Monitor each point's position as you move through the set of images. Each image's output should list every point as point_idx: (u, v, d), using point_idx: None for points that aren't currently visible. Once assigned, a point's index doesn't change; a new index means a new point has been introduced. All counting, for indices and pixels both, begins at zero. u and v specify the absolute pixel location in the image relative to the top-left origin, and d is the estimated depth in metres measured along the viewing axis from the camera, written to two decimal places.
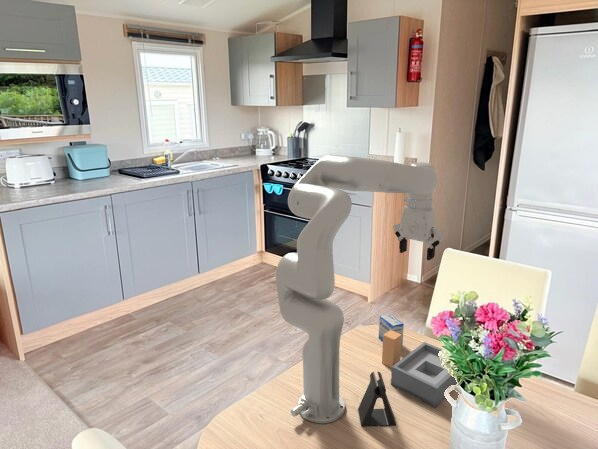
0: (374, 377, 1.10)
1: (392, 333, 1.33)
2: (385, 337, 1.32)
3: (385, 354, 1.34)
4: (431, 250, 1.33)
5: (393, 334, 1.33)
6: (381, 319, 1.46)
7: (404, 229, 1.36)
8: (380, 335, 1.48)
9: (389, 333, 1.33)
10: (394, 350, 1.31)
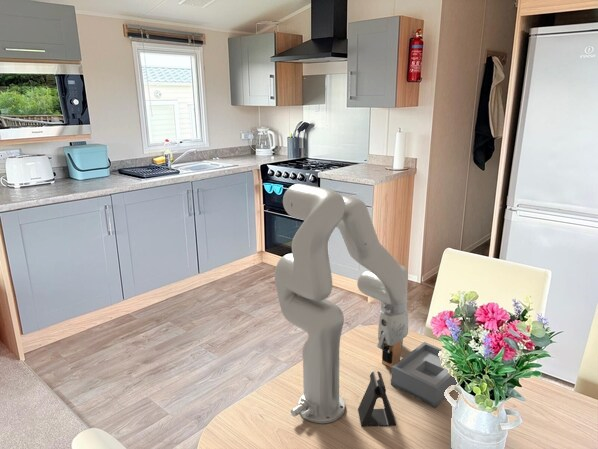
0: (374, 377, 1.10)
1: None
2: None
3: None
4: None
5: None
6: None
7: (394, 337, 1.28)
8: None
9: None
10: (393, 350, 1.31)
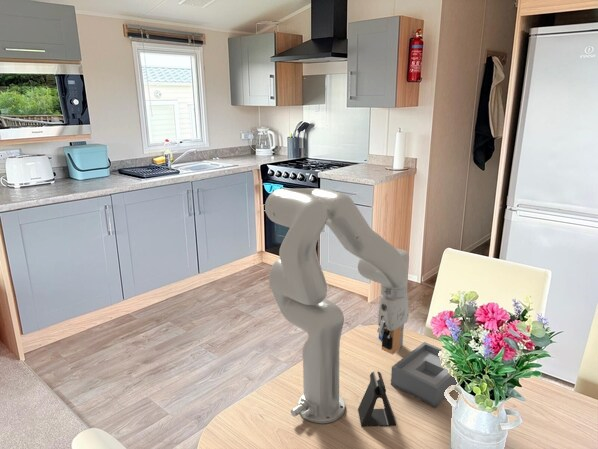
0: (374, 377, 1.10)
1: None
2: None
3: None
4: None
5: None
6: None
7: (394, 322, 1.27)
8: (380, 335, 1.48)
9: None
10: (394, 336, 1.29)
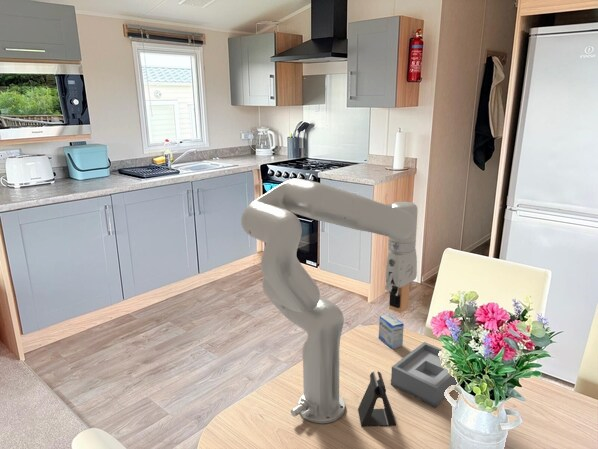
0: (374, 377, 1.10)
1: None
2: None
3: None
4: None
5: None
6: (381, 319, 1.46)
7: (403, 278, 1.21)
8: (380, 335, 1.48)
9: None
10: (402, 293, 1.24)
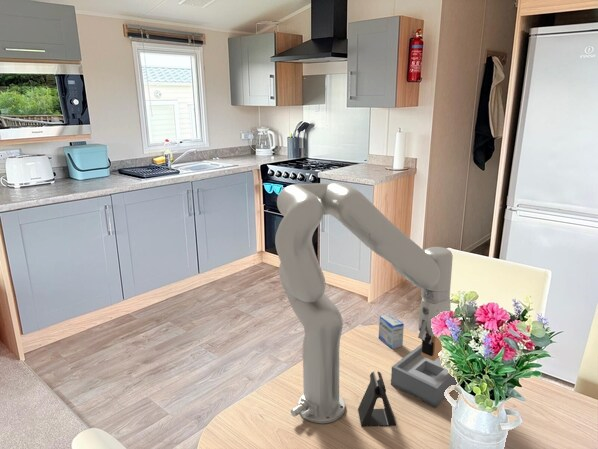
0: (374, 377, 1.10)
1: None
2: None
3: None
4: None
5: None
6: (381, 319, 1.46)
7: None
8: (380, 335, 1.48)
9: None
10: (435, 341, 1.20)
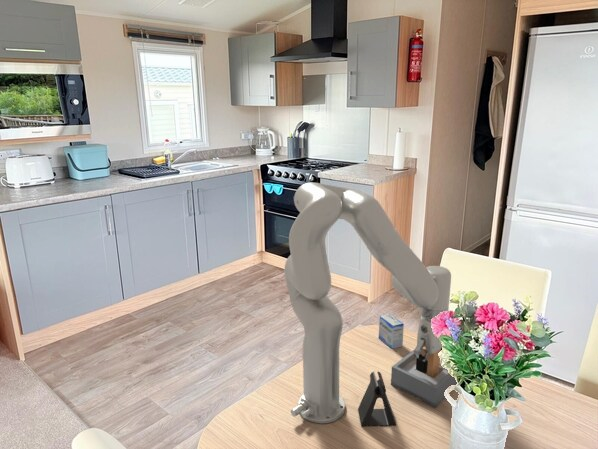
0: (374, 377, 1.10)
1: None
2: (423, 351, 1.23)
3: None
4: None
5: None
6: (381, 319, 1.46)
7: (435, 345, 1.18)
8: (380, 335, 1.48)
9: None
10: (433, 365, 1.22)
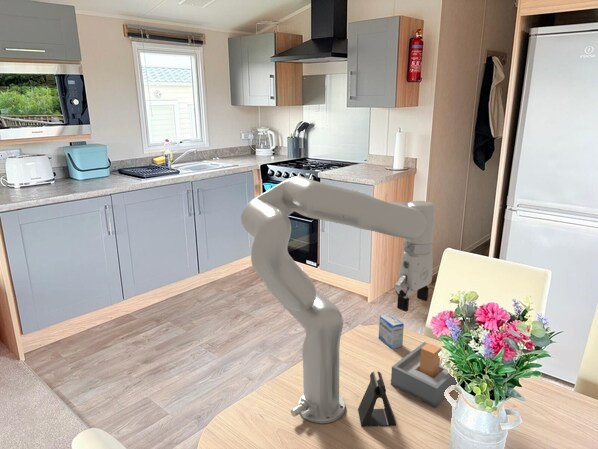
0: (374, 377, 1.10)
1: (430, 346, 1.24)
2: (423, 351, 1.23)
3: (423, 369, 1.24)
4: None
5: (432, 347, 1.23)
6: (381, 319, 1.46)
7: (417, 281, 1.15)
8: (380, 335, 1.48)
9: (427, 346, 1.24)
10: (433, 365, 1.22)
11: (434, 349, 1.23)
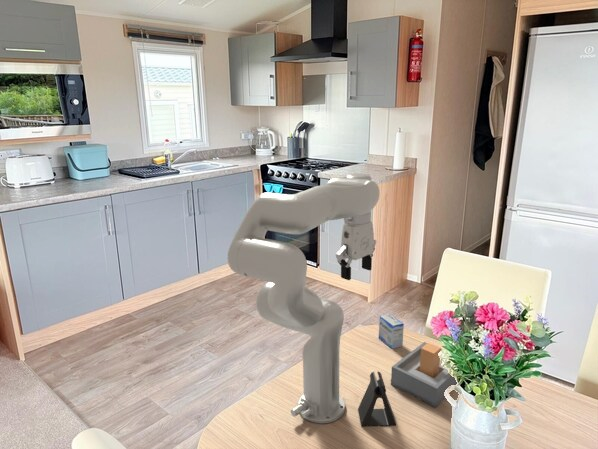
0: (374, 377, 1.10)
1: (430, 346, 1.24)
2: (423, 351, 1.23)
3: (423, 369, 1.24)
4: None
5: (432, 347, 1.23)
6: (381, 319, 1.46)
7: (357, 250, 1.21)
8: (380, 335, 1.48)
9: (427, 346, 1.24)
10: (433, 365, 1.22)
11: (434, 349, 1.23)
